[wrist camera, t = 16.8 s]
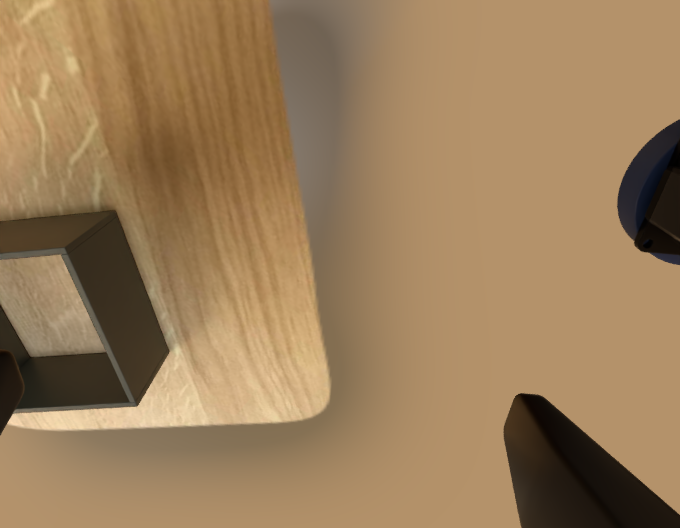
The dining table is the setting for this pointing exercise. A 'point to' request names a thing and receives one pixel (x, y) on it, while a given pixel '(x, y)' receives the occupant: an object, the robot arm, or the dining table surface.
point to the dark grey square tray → (103, 308)
